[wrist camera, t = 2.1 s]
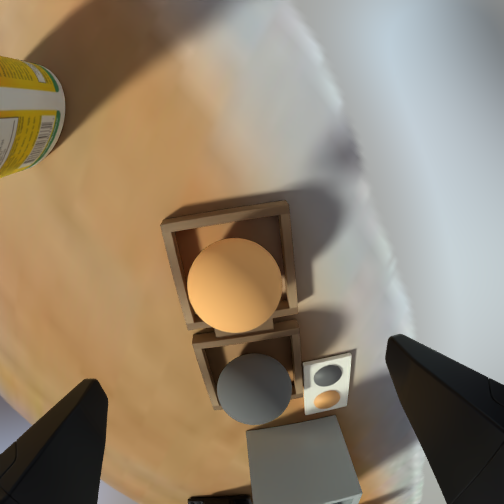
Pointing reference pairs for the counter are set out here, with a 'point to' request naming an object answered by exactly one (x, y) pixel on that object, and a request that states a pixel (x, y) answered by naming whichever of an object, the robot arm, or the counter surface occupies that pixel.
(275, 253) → the counter surface
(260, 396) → the gray ball
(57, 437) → the robot arm
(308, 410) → the card
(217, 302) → the orange ball
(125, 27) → the counter surface
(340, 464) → the grey open box
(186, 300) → the holder
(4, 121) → the supplement bottle
